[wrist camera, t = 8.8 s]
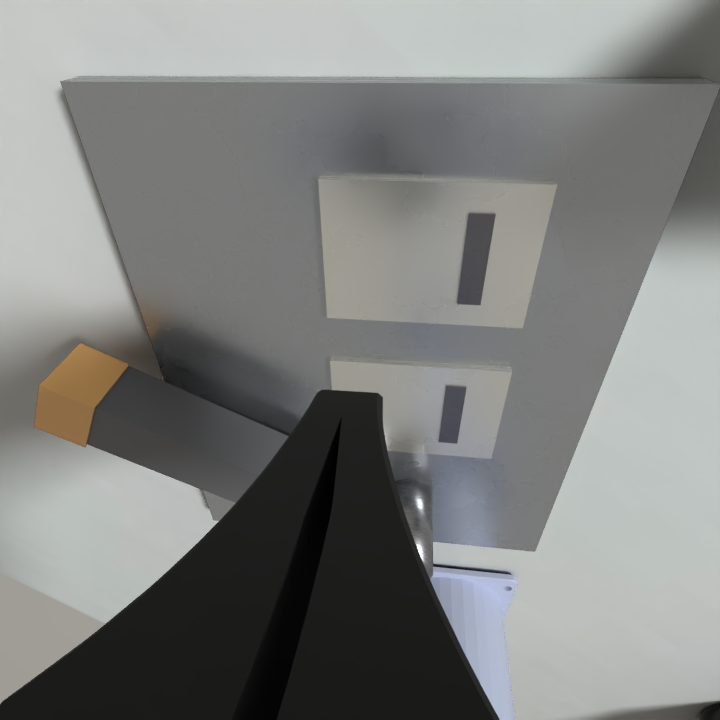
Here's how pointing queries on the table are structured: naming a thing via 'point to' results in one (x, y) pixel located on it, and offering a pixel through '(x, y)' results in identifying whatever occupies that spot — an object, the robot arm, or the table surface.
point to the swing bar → (153, 424)
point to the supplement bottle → (711, 713)
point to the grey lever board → (397, 258)
